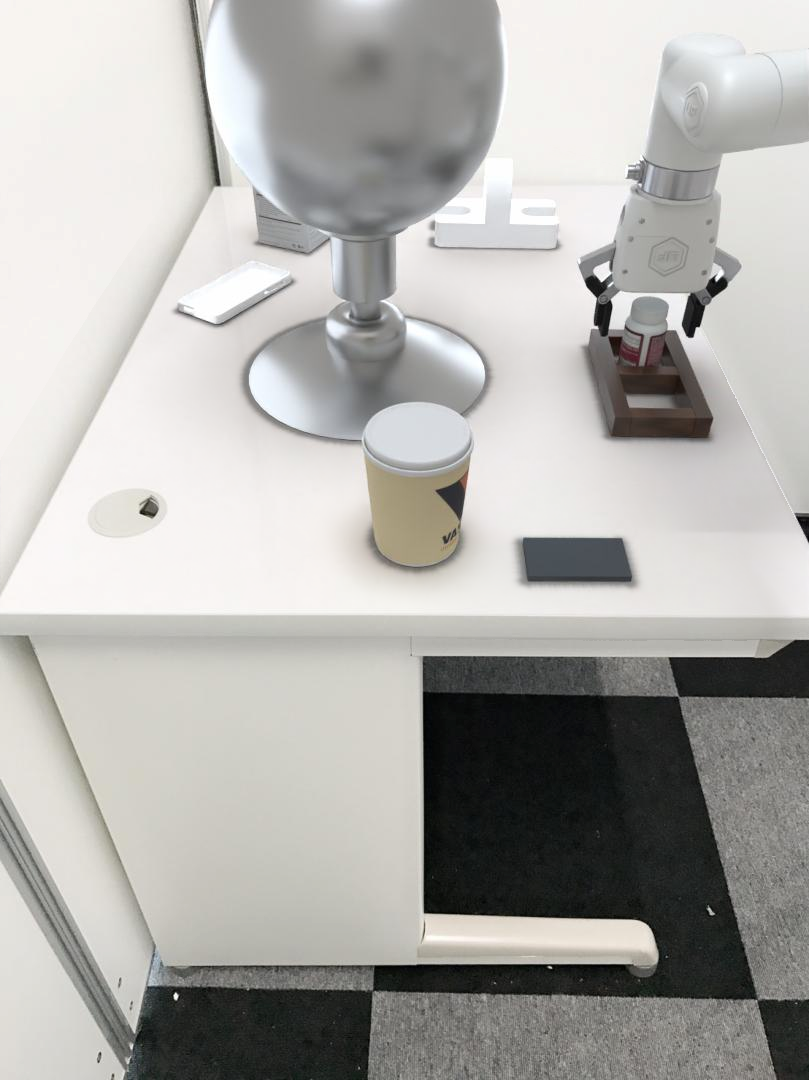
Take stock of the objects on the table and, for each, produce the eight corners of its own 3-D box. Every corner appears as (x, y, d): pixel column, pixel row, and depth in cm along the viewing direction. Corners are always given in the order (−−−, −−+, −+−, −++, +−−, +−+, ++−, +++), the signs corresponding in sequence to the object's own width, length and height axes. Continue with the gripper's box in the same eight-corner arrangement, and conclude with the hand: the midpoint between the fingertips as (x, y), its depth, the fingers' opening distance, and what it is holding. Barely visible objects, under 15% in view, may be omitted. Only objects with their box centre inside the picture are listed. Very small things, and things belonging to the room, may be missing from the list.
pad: (621, 542, 78) (622, 537, 77) (631, 581, 74) (632, 576, 74) (522, 542, 78) (523, 537, 77) (528, 580, 74) (528, 575, 74)
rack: (671, 348, 104) (676, 329, 102) (708, 437, 90) (713, 417, 88) (587, 347, 104) (590, 328, 102) (611, 436, 90) (615, 416, 88)
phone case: (253, 268, 120) (176, 310, 111) (252, 259, 119) (174, 300, 110) (293, 281, 117) (218, 325, 108) (292, 272, 116) (216, 316, 107)
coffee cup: (461, 579, 74) (467, 470, 66) (356, 567, 75) (350, 458, 67) (472, 511, 81) (480, 404, 73) (376, 501, 82) (373, 395, 74)
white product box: (289, 221, 132) (280, 118, 122) (339, 232, 129) (334, 127, 119) (256, 243, 126) (243, 136, 116) (308, 254, 123) (299, 146, 113)
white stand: (435, 221, 132) (437, 148, 125) (551, 222, 132) (559, 150, 125) (434, 246, 125) (436, 171, 118) (556, 248, 125) (566, 173, 118)
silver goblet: (533, 371, 100) (590, -110, 69) (359, 473, 85) (334, -77, 55) (373, 294, 114) (362, -132, 84) (201, 370, 100) (113, -111, 69)
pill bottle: (655, 360, 101) (669, 295, 96) (659, 381, 98) (675, 315, 92) (614, 358, 102) (627, 293, 96) (618, 379, 98) (631, 313, 93)
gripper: (595, 190, 82) (572, 347, 94) (775, 192, 82) (729, 349, 94) (585, 163, 88) (564, 314, 100) (754, 165, 88) (713, 316, 99)
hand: (644, 331), depth 97 cm, fingers open, 9 cm apart
